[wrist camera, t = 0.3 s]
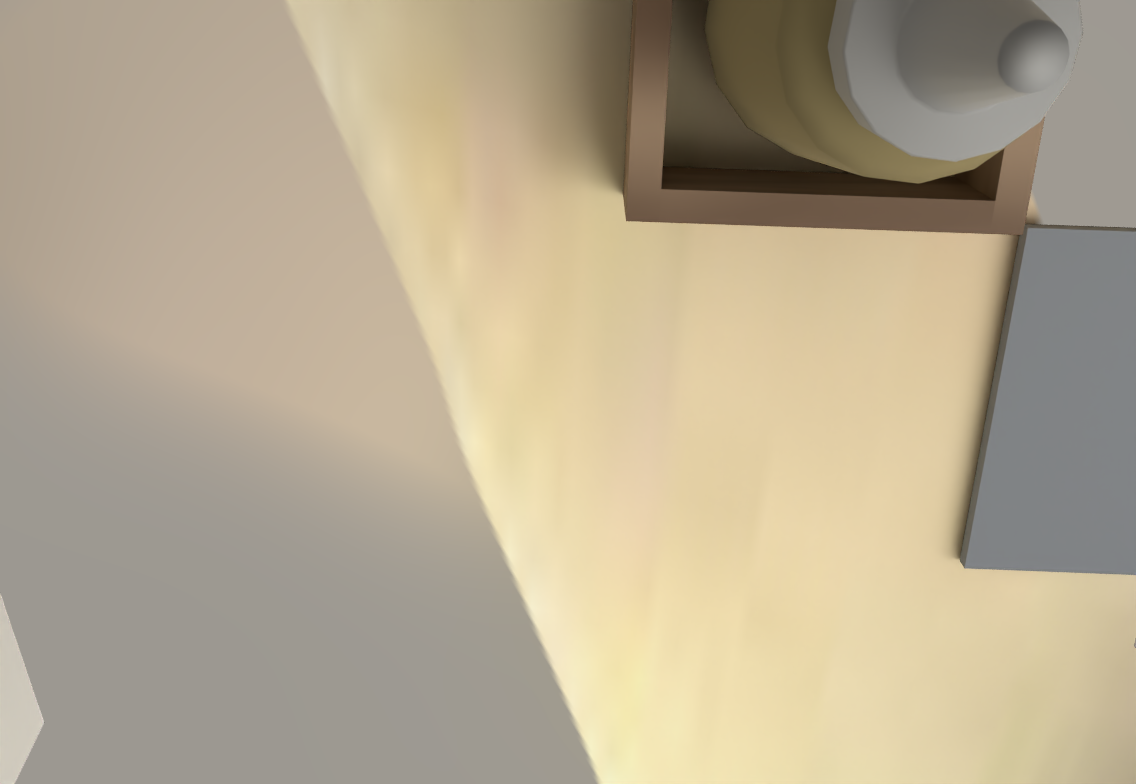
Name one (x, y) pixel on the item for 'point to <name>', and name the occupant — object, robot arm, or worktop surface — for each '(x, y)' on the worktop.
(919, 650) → the worktop surface
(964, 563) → the mat
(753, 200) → the holder
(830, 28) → the squeeze bottle
